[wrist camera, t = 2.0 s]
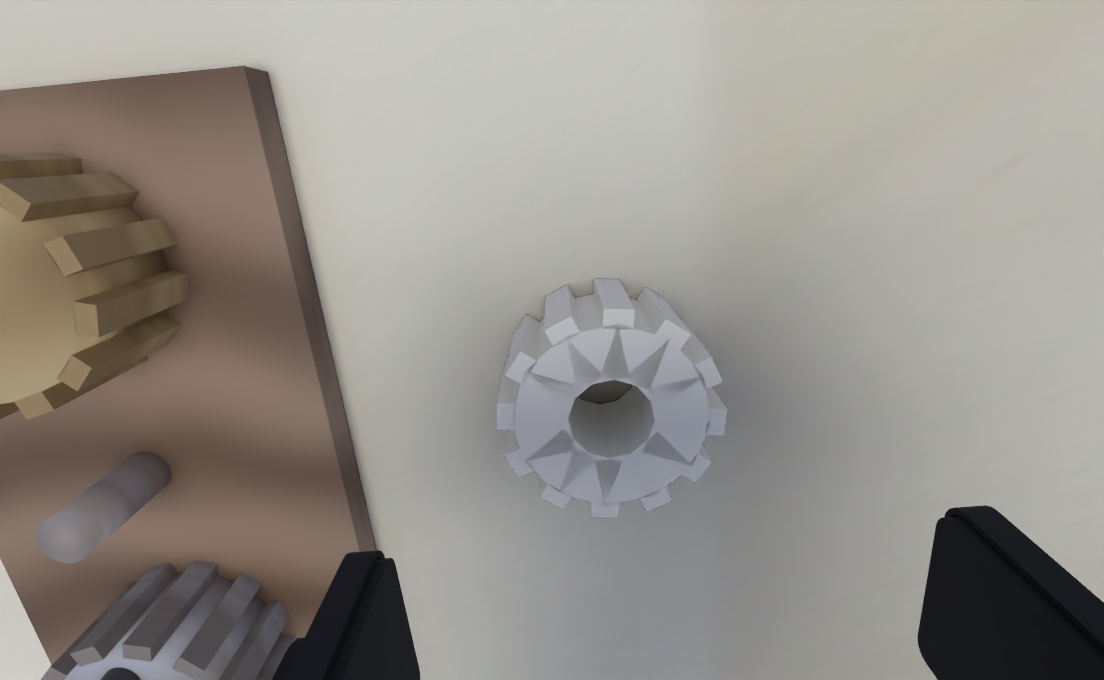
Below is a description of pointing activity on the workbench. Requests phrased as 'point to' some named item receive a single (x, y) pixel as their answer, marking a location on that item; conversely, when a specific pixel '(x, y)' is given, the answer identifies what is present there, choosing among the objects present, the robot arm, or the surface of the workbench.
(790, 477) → the workbench surface
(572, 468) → the gear
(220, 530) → the gear board
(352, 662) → the robot arm
